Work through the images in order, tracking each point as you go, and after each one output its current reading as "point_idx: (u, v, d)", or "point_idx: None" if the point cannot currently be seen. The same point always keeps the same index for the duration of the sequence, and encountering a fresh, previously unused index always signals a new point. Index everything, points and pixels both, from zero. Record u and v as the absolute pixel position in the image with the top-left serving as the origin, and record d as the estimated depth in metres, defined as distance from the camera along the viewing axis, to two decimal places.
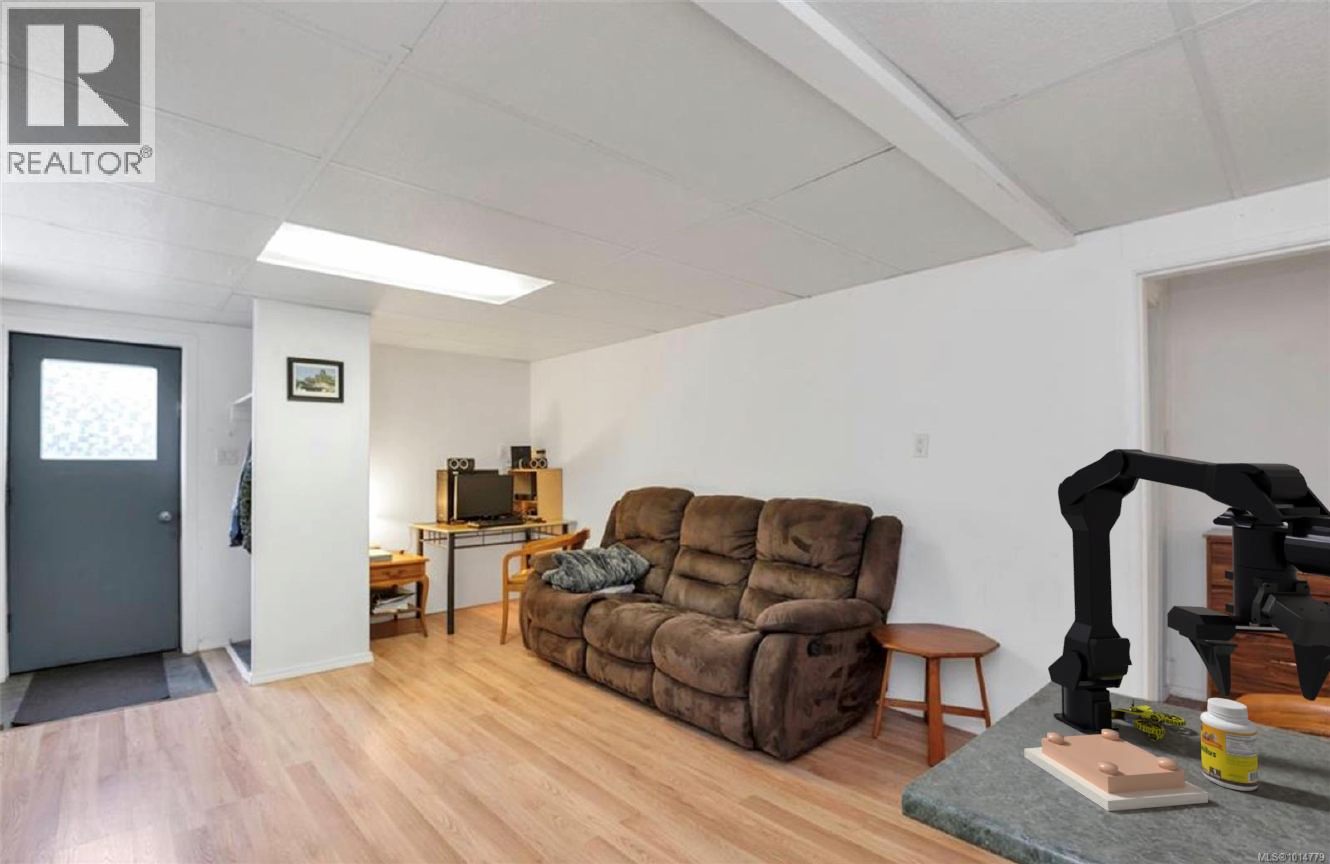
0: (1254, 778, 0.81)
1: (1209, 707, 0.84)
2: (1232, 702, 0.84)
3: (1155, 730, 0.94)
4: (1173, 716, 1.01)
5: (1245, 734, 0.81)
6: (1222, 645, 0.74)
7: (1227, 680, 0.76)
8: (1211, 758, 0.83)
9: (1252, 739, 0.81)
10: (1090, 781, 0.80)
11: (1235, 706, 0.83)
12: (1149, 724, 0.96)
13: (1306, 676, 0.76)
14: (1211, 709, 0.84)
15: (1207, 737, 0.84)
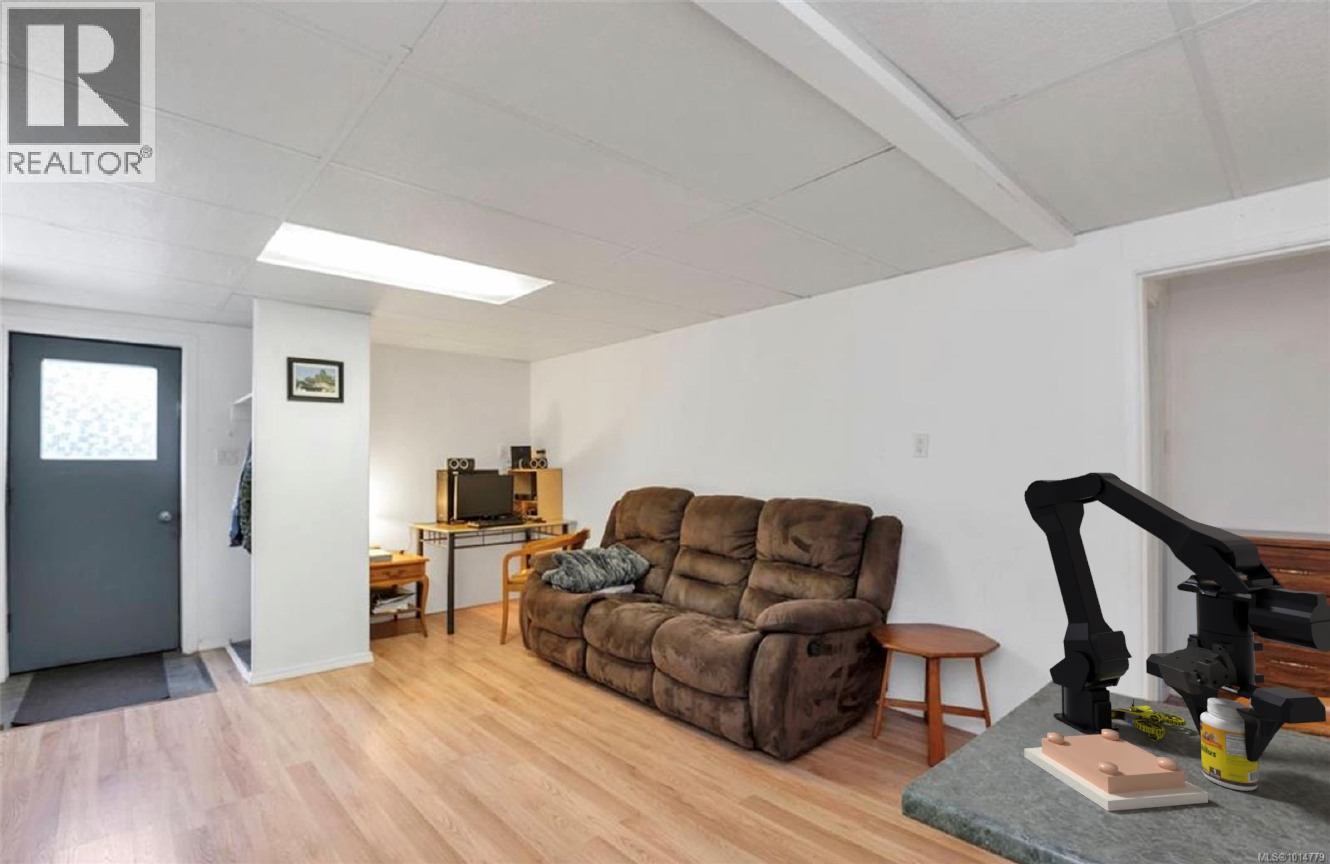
0: (1254, 778, 0.81)
1: (1209, 707, 0.84)
2: (1232, 702, 0.84)
3: (1155, 730, 0.94)
4: (1173, 716, 1.01)
5: None
6: (1170, 685, 0.88)
7: (1197, 724, 0.87)
8: (1210, 757, 0.83)
9: None
10: (1090, 781, 0.80)
11: (1235, 706, 0.83)
12: (1149, 724, 0.96)
13: None
14: (1211, 709, 0.84)
15: (1207, 737, 0.84)
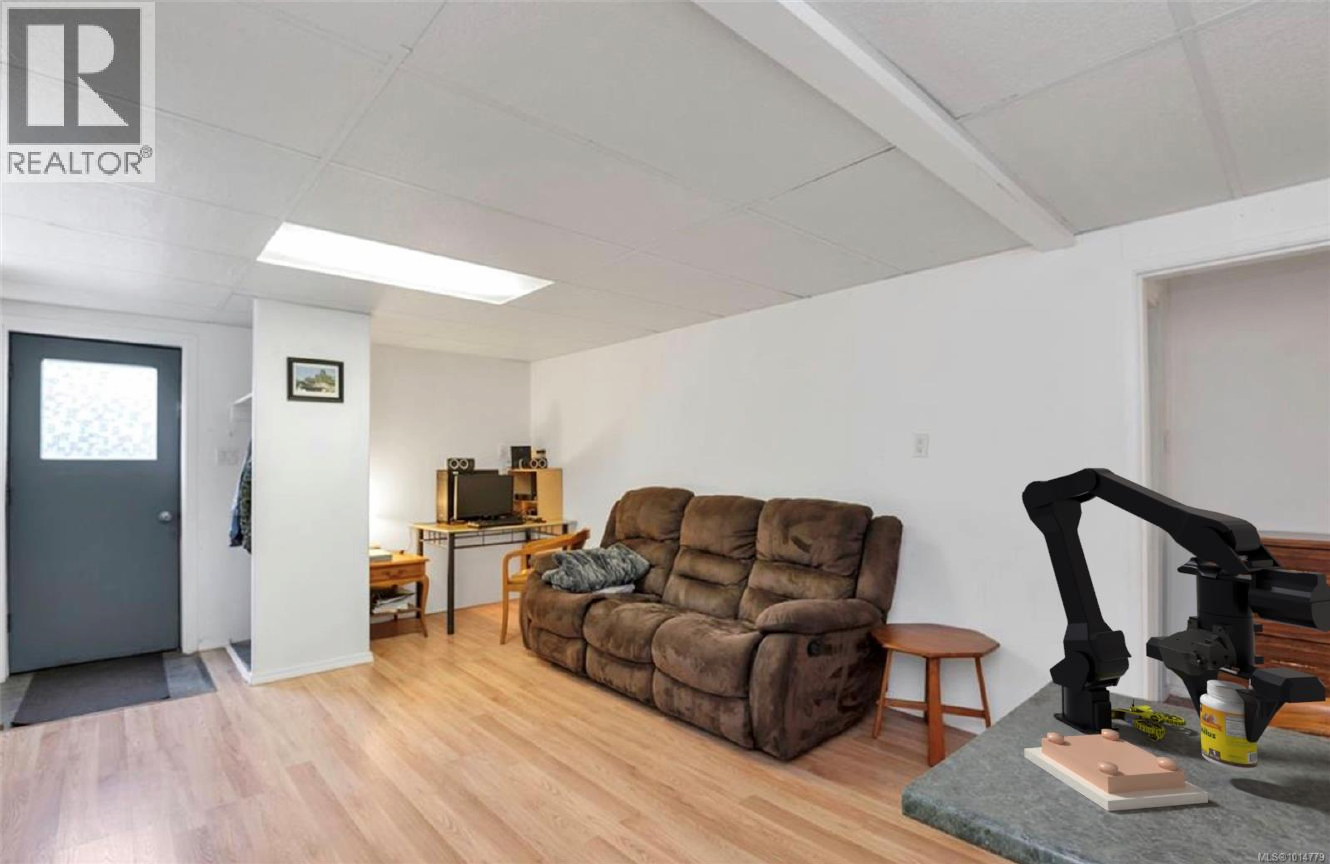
0: (1253, 759, 0.81)
1: (1209, 689, 0.84)
2: (1232, 684, 0.84)
3: (1155, 730, 0.94)
4: (1173, 716, 1.01)
5: (1244, 715, 0.81)
6: (1170, 668, 0.89)
7: (1197, 706, 0.87)
8: (1210, 739, 0.83)
9: None
10: (1090, 781, 0.80)
11: (1234, 687, 0.83)
12: (1149, 724, 0.96)
13: None
14: (1211, 691, 0.84)
15: (1206, 718, 0.84)
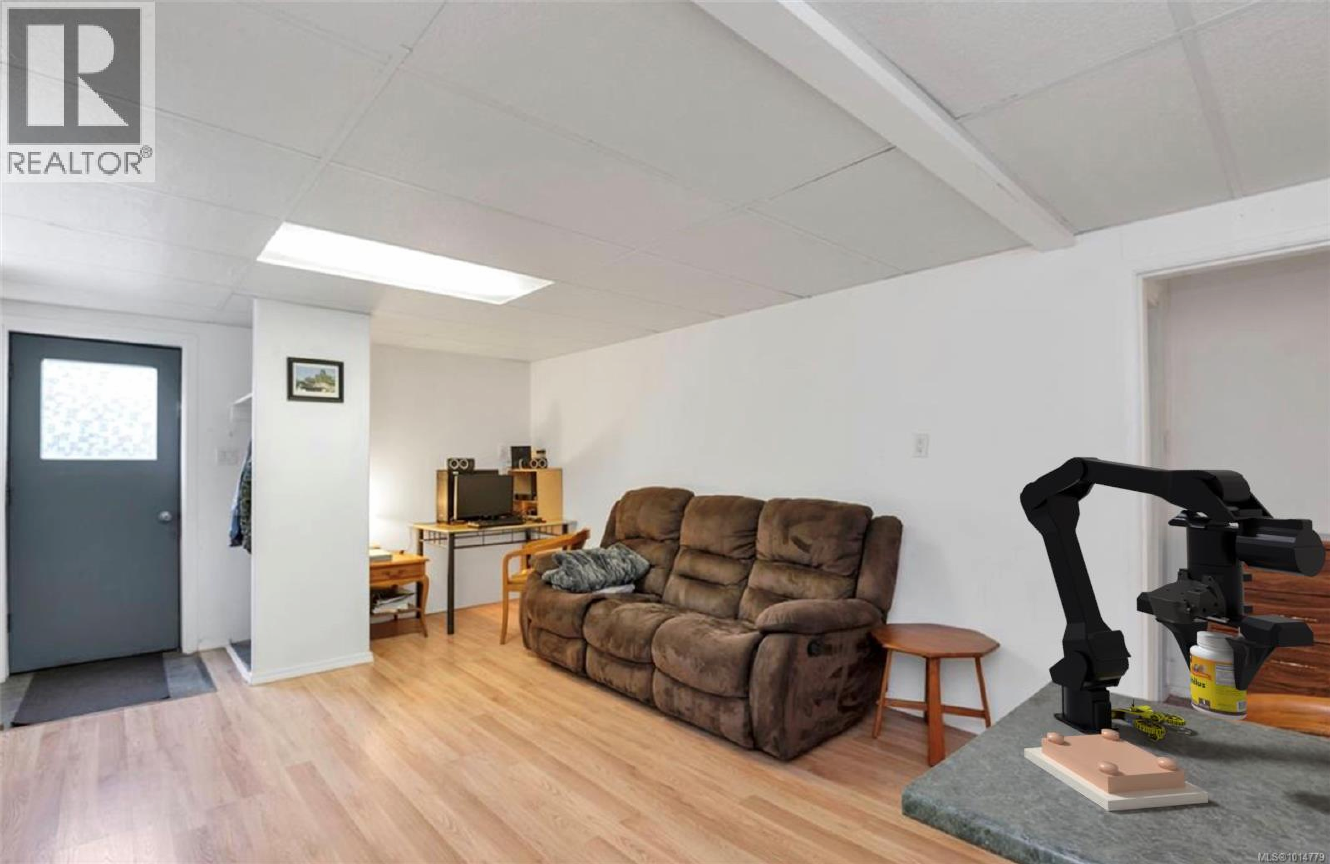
0: (1243, 707, 0.81)
1: (1199, 639, 0.85)
2: (1221, 634, 0.84)
3: (1155, 730, 0.94)
4: (1173, 716, 1.01)
5: None
6: (1161, 621, 0.89)
7: (1187, 658, 0.87)
8: (1200, 689, 0.84)
9: None
10: (1090, 781, 0.80)
11: (1224, 637, 0.83)
12: (1149, 724, 0.96)
13: None
14: (1201, 641, 0.84)
15: (1196, 668, 0.84)
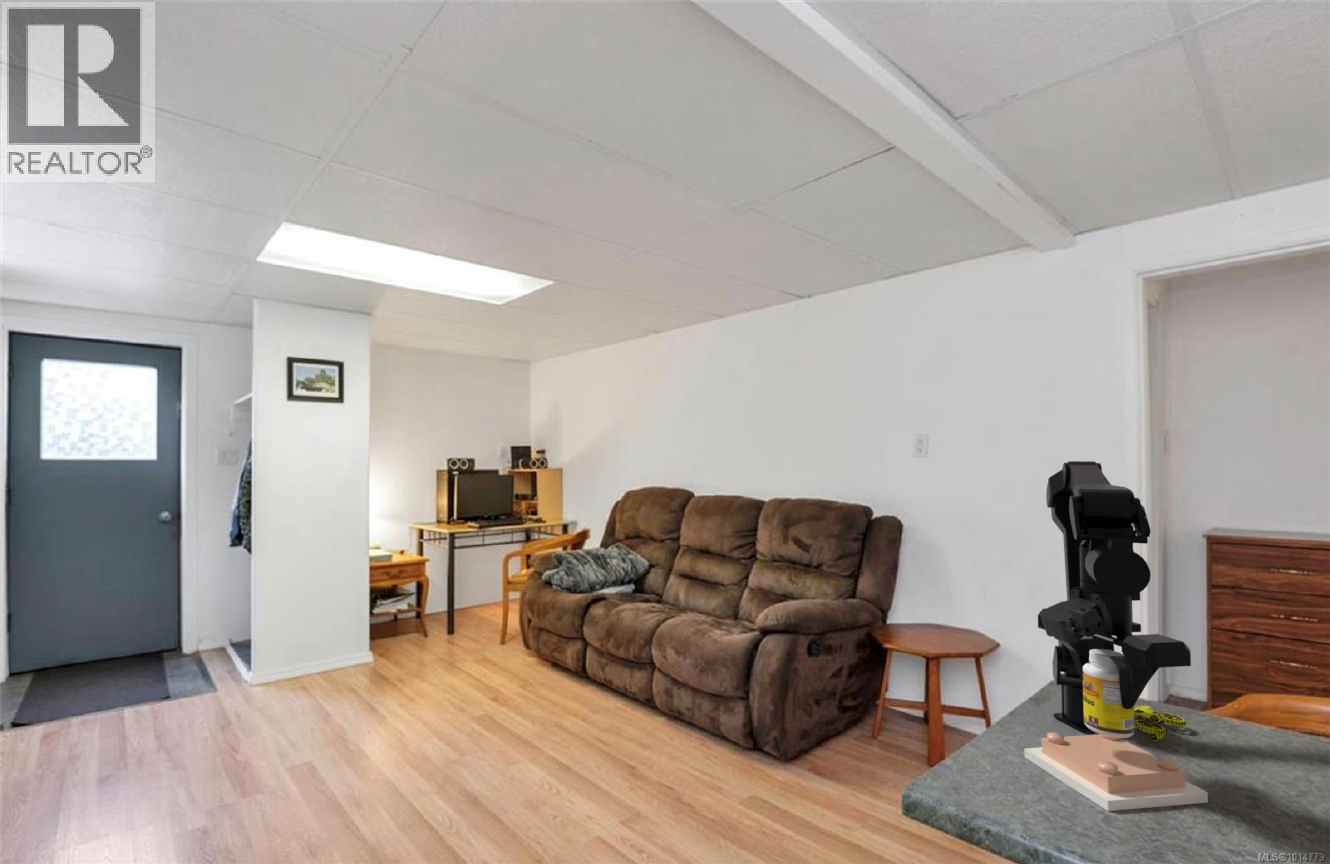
0: (1129, 725, 0.82)
1: (1090, 657, 0.85)
2: (1112, 652, 0.85)
3: (1155, 730, 0.94)
4: (1173, 716, 1.01)
5: None
6: (1057, 638, 0.89)
7: (1081, 675, 0.88)
8: (1089, 706, 0.84)
9: None
10: (1090, 781, 0.80)
11: (1113, 655, 0.84)
12: (1149, 724, 0.96)
13: None
14: (1091, 659, 0.85)
15: (1086, 686, 0.85)
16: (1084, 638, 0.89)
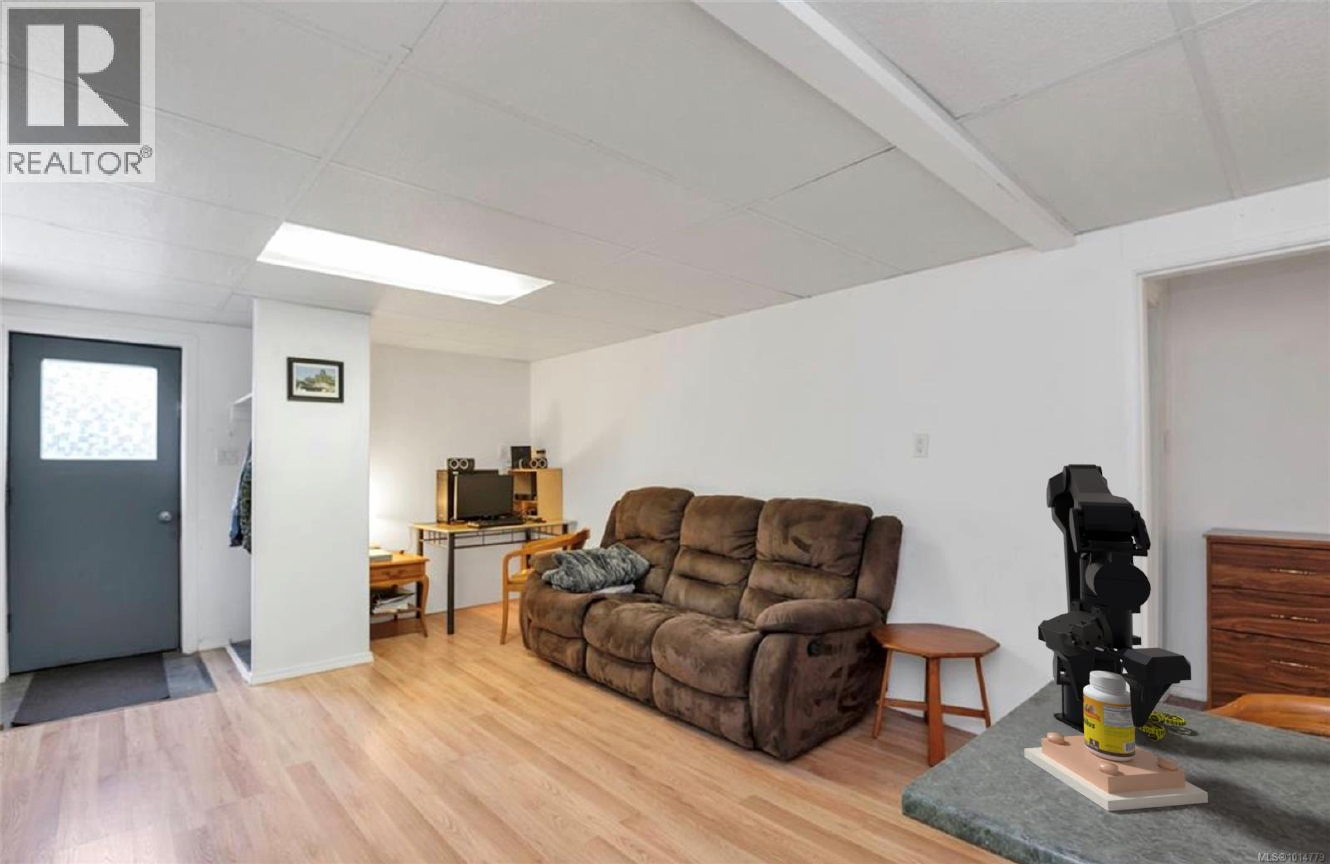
0: (1130, 748, 0.82)
1: (1090, 679, 0.85)
2: (1113, 674, 0.85)
3: (1155, 730, 0.94)
4: (1173, 716, 1.01)
5: (1121, 705, 0.82)
6: None
7: (1073, 684, 0.89)
8: (1090, 729, 0.84)
9: (1128, 710, 0.82)
10: (1090, 781, 0.80)
11: (1113, 678, 0.83)
12: (1149, 724, 0.96)
13: None
14: (1092, 681, 0.85)
15: (1087, 709, 0.84)
16: None
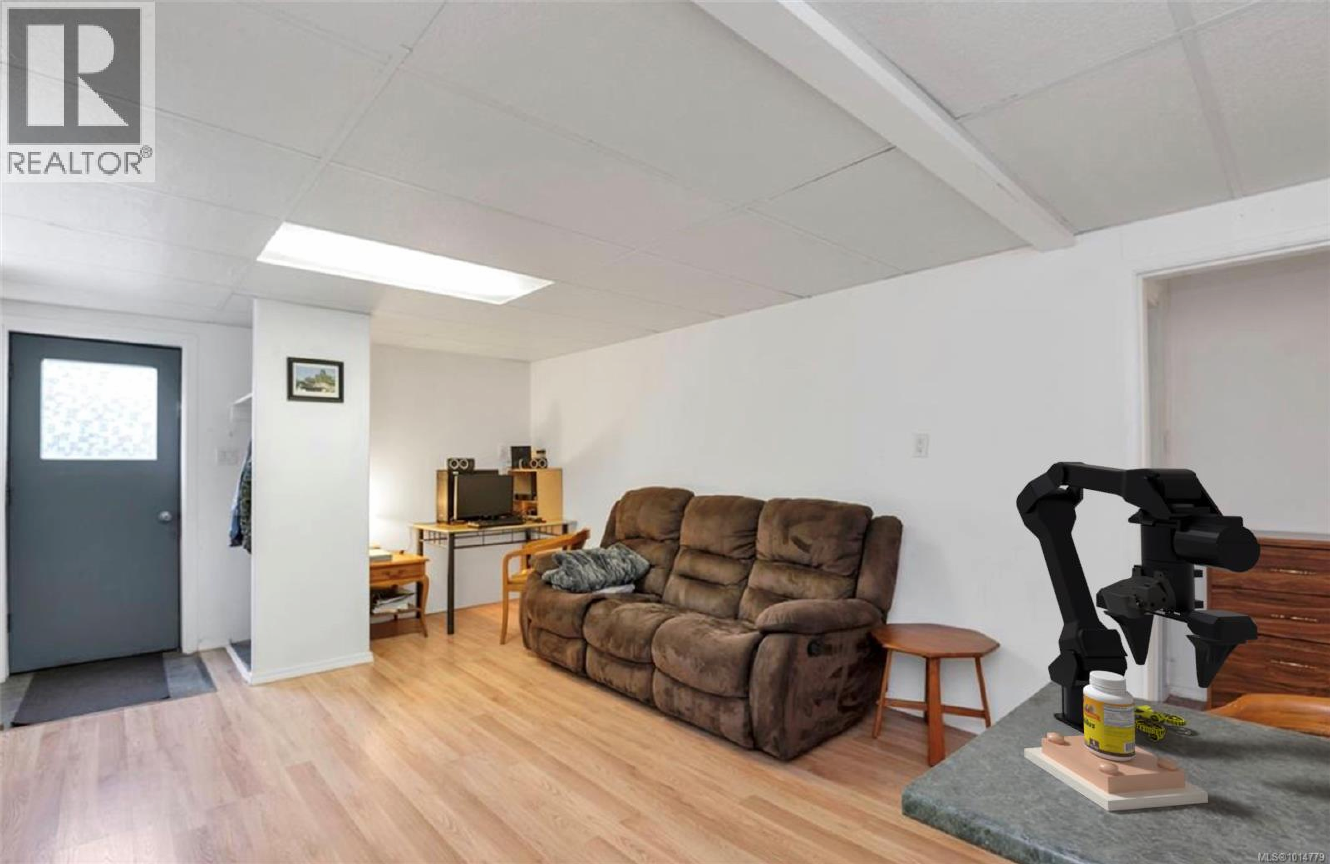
0: (1130, 748, 0.82)
1: (1090, 679, 0.85)
2: (1113, 674, 0.85)
3: (1155, 730, 0.94)
4: (1174, 716, 1.01)
5: (1121, 705, 0.82)
6: (1108, 613, 0.93)
7: (1132, 649, 0.91)
8: (1090, 729, 0.84)
9: (1128, 710, 0.82)
10: (1090, 781, 0.80)
11: (1113, 678, 0.83)
12: (1149, 724, 0.96)
13: None
14: (1092, 681, 0.85)
15: (1087, 709, 0.84)
16: None
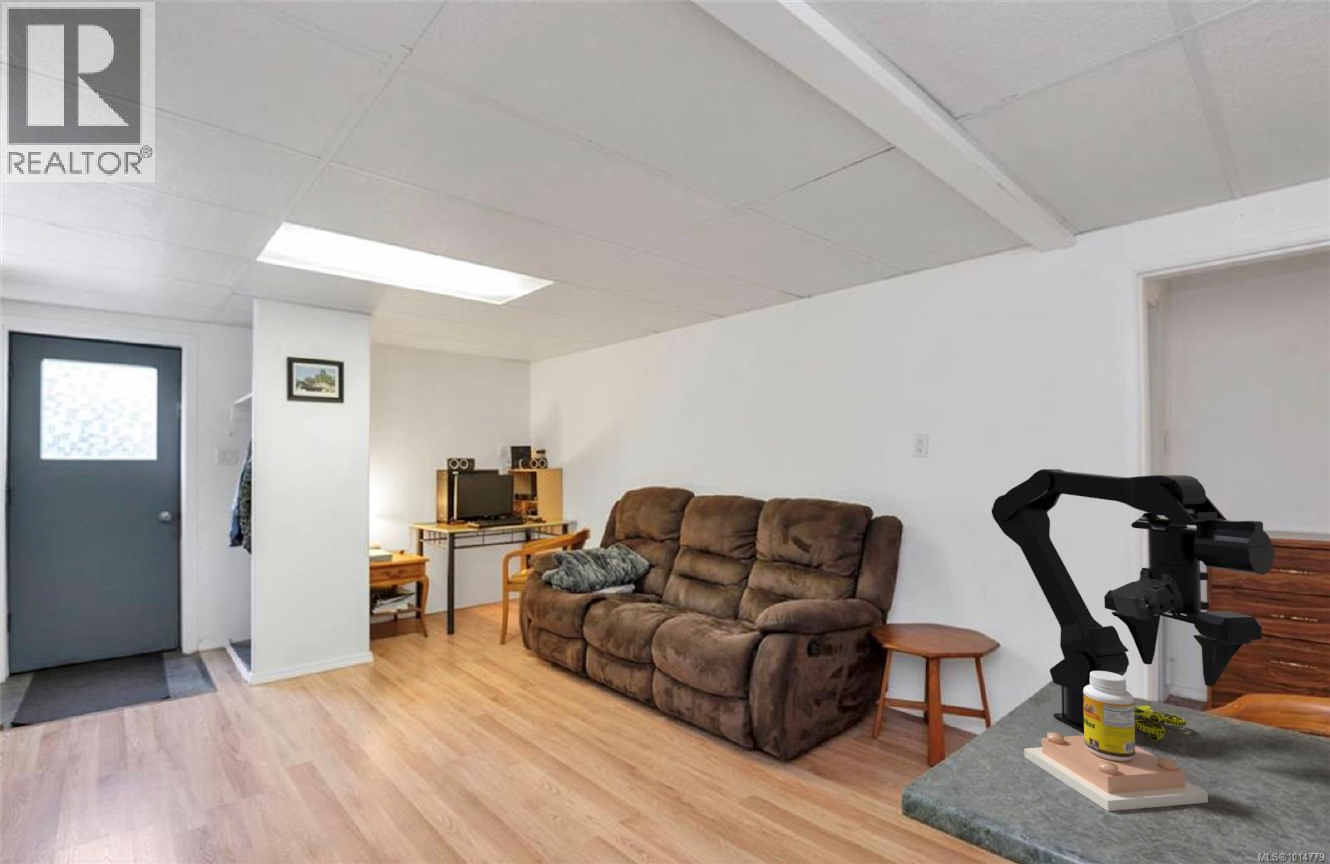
0: (1130, 748, 0.82)
1: (1090, 679, 0.85)
2: (1113, 674, 0.85)
3: (1155, 730, 0.94)
4: (1174, 716, 1.01)
5: (1121, 705, 0.82)
6: (1116, 614, 0.96)
7: (1140, 649, 0.94)
8: (1090, 729, 0.84)
9: (1128, 710, 0.82)
10: (1090, 781, 0.80)
11: (1113, 678, 0.83)
12: (1149, 724, 0.96)
13: None
14: (1092, 681, 0.85)
15: (1087, 709, 0.84)
16: None
